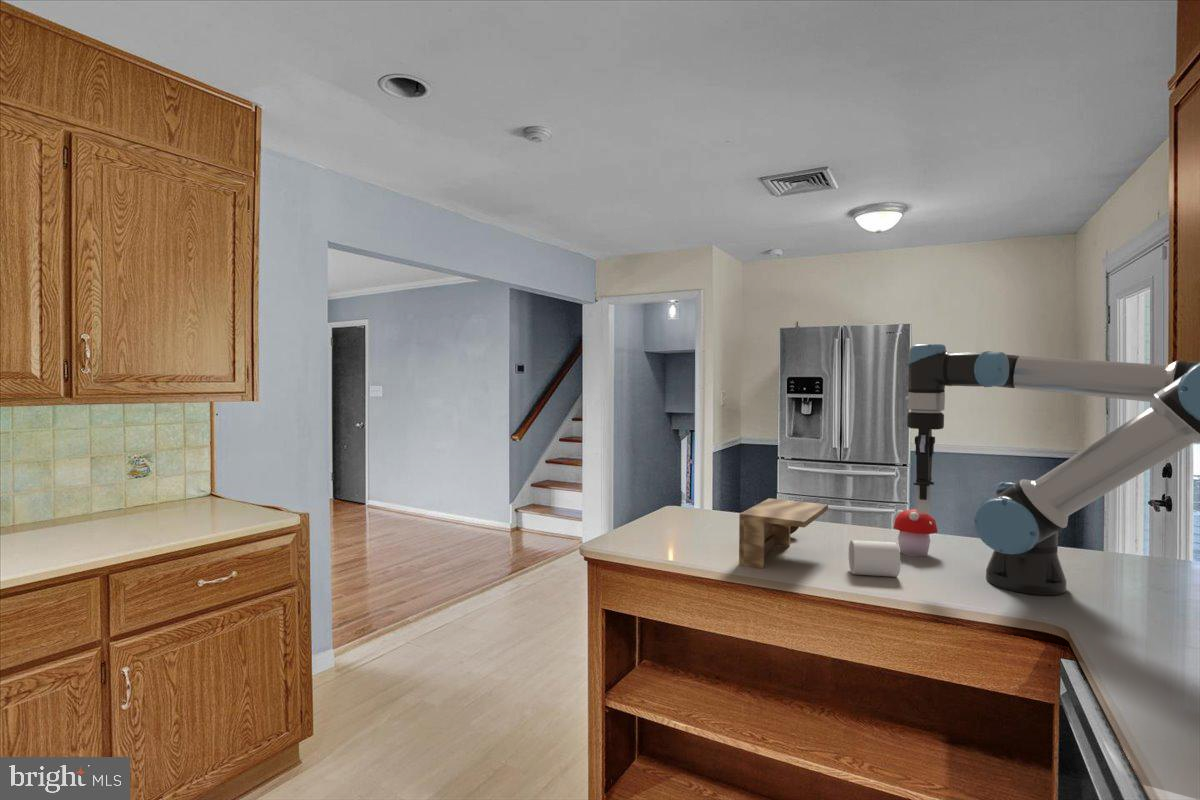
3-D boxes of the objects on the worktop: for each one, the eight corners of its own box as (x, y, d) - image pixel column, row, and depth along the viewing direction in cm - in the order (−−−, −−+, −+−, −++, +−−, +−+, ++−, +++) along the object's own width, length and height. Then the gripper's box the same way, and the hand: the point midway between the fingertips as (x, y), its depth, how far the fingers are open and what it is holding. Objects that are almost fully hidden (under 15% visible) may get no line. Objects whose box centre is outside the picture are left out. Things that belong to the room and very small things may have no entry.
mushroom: (901, 545, 175) (901, 503, 175) (943, 553, 167) (944, 508, 167) (886, 552, 168) (887, 508, 167) (930, 561, 160) (931, 515, 159)
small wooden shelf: (827, 552, 168) (828, 504, 168) (803, 575, 148) (804, 521, 148) (768, 543, 177) (769, 498, 176) (738, 564, 157) (739, 513, 156)
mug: (900, 581, 144) (900, 547, 144) (854, 578, 146) (855, 544, 146) (887, 566, 156) (887, 534, 156) (845, 563, 158) (845, 532, 158)
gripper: (910, 409, 151) (908, 506, 152) (904, 412, 140) (901, 516, 141) (946, 410, 147) (943, 509, 148) (941, 413, 136) (939, 520, 137)
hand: (923, 512), depth 145 cm, fingers closed
